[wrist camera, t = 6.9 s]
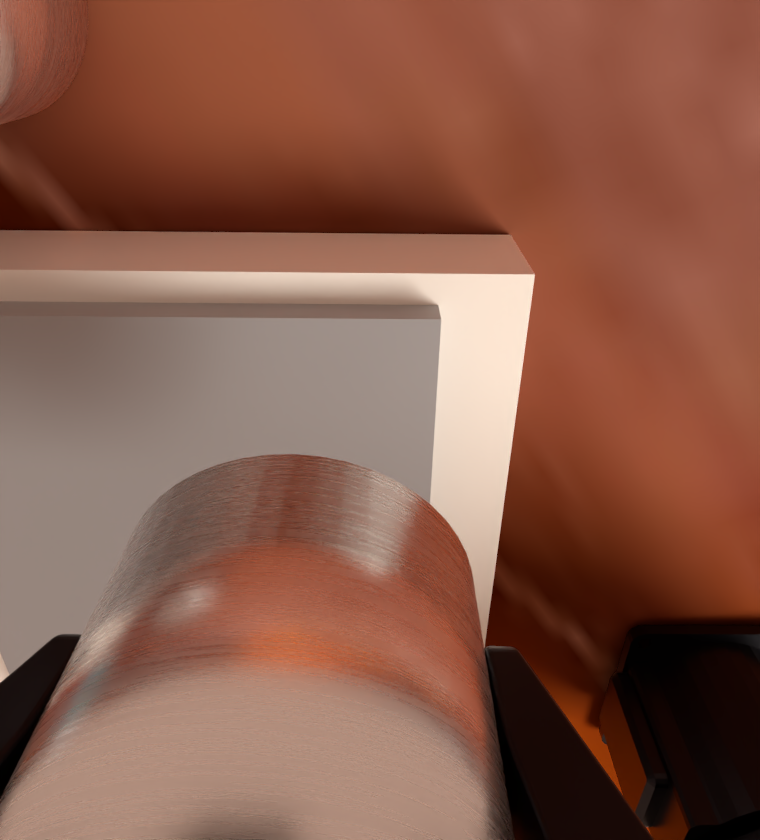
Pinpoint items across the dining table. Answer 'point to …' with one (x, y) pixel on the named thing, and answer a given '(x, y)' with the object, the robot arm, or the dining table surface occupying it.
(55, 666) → the robot arm
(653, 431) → the dining table surface
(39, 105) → the cylinder
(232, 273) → the scale
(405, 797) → the cylinder
